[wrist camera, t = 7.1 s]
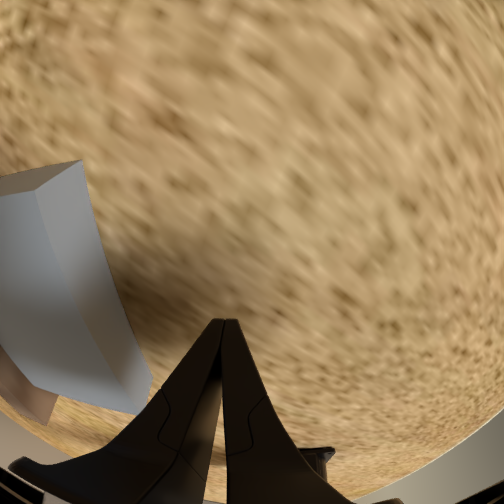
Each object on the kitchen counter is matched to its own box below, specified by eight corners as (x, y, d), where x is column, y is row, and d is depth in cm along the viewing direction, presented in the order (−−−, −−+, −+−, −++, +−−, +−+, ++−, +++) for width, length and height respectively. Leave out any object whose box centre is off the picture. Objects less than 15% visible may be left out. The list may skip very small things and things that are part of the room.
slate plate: (154, 371, 15) (143, 416, 12) (50, 351, 15) (33, 385, 13) (87, 156, 8) (34, 190, 6) (-28, 183, 8) (-67, 212, 6)
